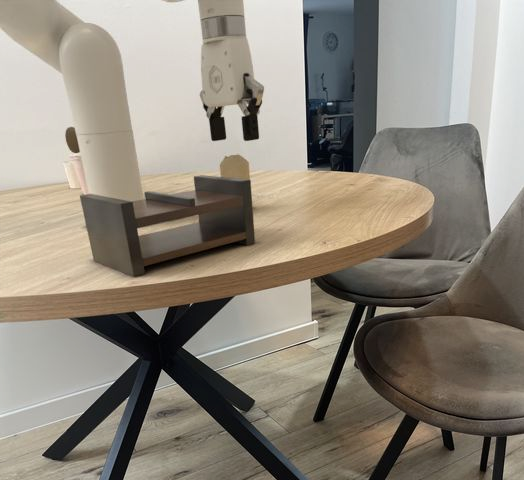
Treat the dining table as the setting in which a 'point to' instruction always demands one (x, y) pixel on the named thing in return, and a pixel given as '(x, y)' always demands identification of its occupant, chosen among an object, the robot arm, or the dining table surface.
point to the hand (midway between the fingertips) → (234, 140)
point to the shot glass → (71, 175)
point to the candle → (235, 167)
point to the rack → (163, 210)
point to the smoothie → (79, 171)
